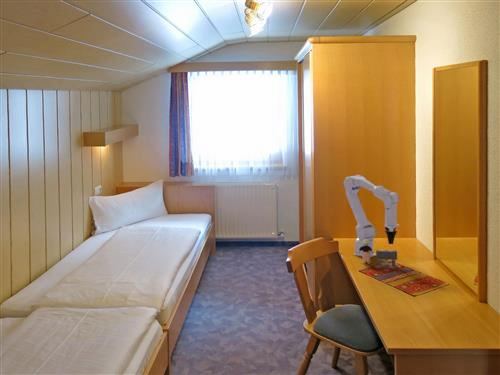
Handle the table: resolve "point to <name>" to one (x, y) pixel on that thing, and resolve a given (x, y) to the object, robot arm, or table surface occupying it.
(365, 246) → the grandmother figurine
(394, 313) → the table surface
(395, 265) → the stand
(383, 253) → the bar
